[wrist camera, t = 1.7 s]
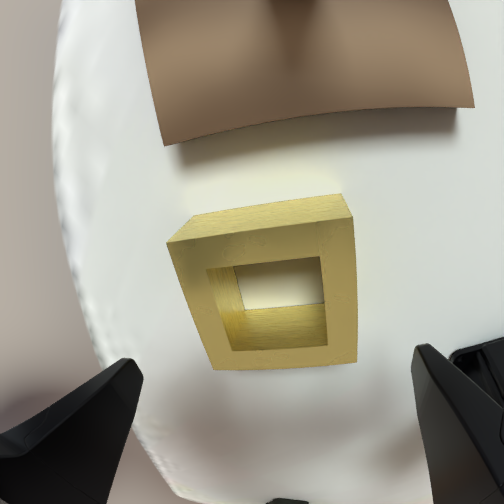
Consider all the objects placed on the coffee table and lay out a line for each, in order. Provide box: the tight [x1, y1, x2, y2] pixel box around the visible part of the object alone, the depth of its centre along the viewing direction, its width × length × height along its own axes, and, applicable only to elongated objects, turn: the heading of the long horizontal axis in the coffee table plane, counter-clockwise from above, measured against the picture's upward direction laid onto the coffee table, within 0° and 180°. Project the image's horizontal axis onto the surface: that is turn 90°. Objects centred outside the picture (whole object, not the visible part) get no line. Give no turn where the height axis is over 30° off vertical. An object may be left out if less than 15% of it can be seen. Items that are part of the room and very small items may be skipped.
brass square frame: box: [166, 194, 358, 370], centre depth 12 cm, size 6×6×3 cm
